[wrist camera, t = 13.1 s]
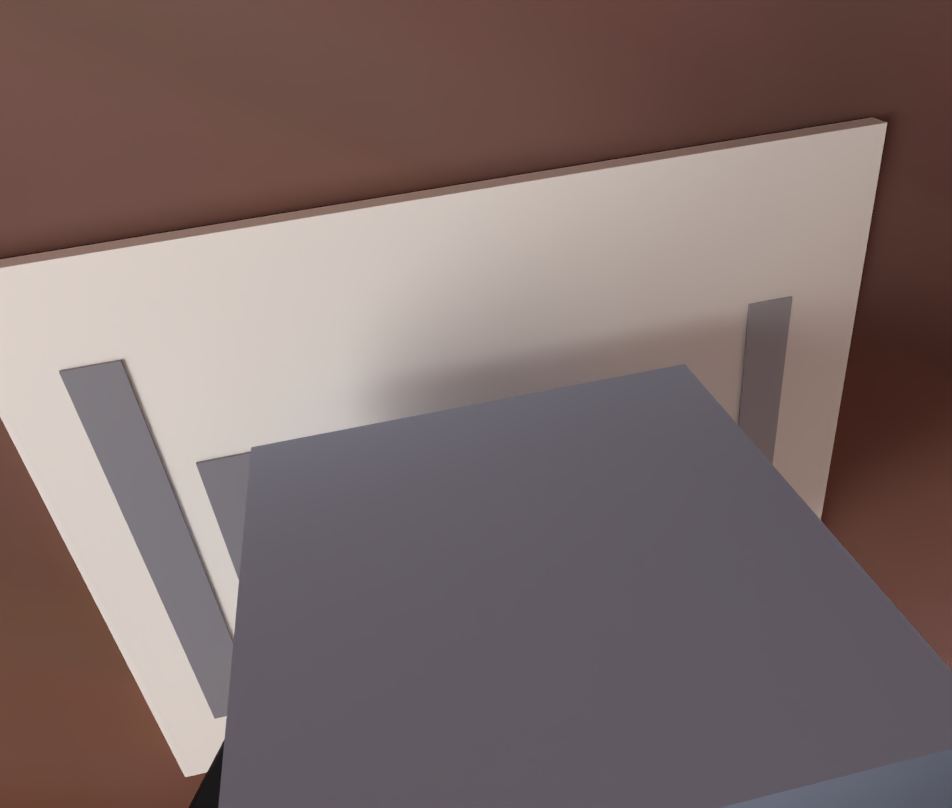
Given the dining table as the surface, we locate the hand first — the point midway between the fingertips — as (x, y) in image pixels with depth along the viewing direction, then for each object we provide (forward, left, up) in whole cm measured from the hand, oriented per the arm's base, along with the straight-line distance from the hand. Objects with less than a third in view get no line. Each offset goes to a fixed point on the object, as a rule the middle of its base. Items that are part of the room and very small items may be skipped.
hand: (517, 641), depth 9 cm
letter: (0, 0, -3) cm, 3 cm away
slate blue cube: (0, 0, -1) cm, 1 cm away
